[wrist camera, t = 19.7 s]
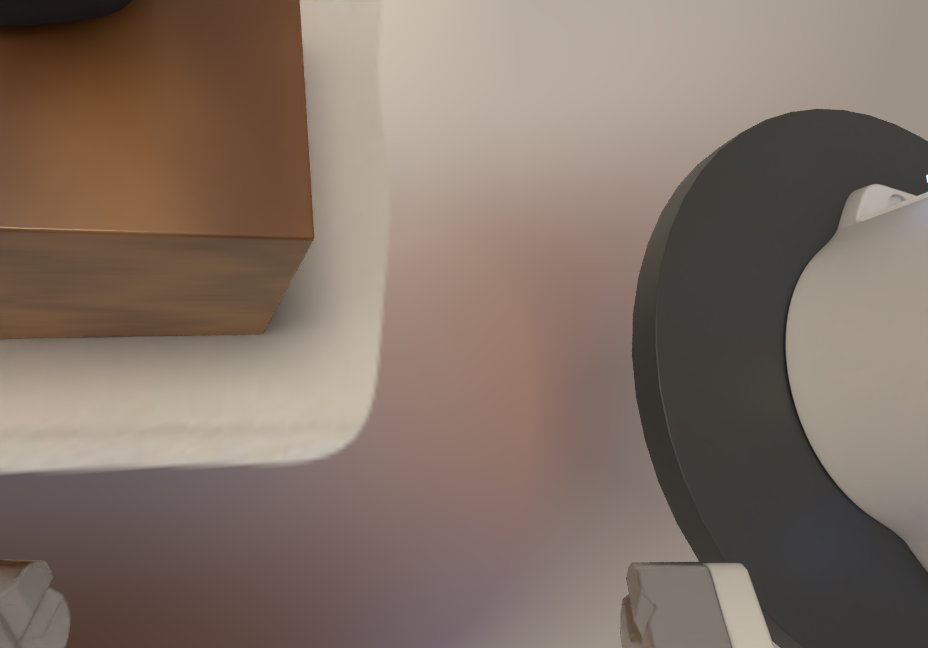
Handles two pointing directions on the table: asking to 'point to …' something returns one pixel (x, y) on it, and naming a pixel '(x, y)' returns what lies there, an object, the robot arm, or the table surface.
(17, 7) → the two-way radio
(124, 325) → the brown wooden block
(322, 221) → the table surface
